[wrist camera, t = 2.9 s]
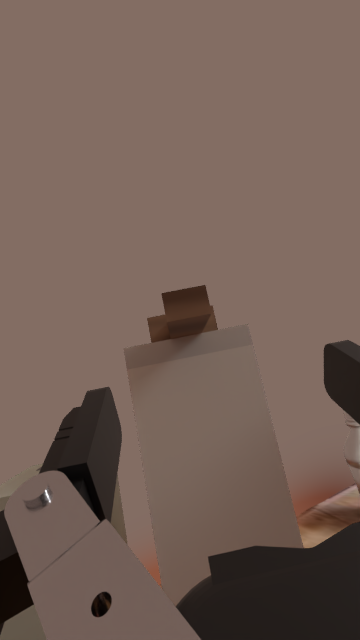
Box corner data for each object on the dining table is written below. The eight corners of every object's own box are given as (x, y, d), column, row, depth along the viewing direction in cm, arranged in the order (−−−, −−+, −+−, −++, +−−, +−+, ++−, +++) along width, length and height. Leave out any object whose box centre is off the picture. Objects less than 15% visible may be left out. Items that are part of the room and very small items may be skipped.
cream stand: (351, 739, 21) (247, 324, 28) (193, 781, 21) (123, 348, 27) (293, 618, 32) (228, 339, 38) (188, 644, 32) (139, 356, 38)
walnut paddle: (241, 307, 19) (230, 265, 20) (137, 327, 19) (129, 284, 19) (211, 341, 37) (206, 318, 37) (157, 352, 37) (153, 329, 37)
